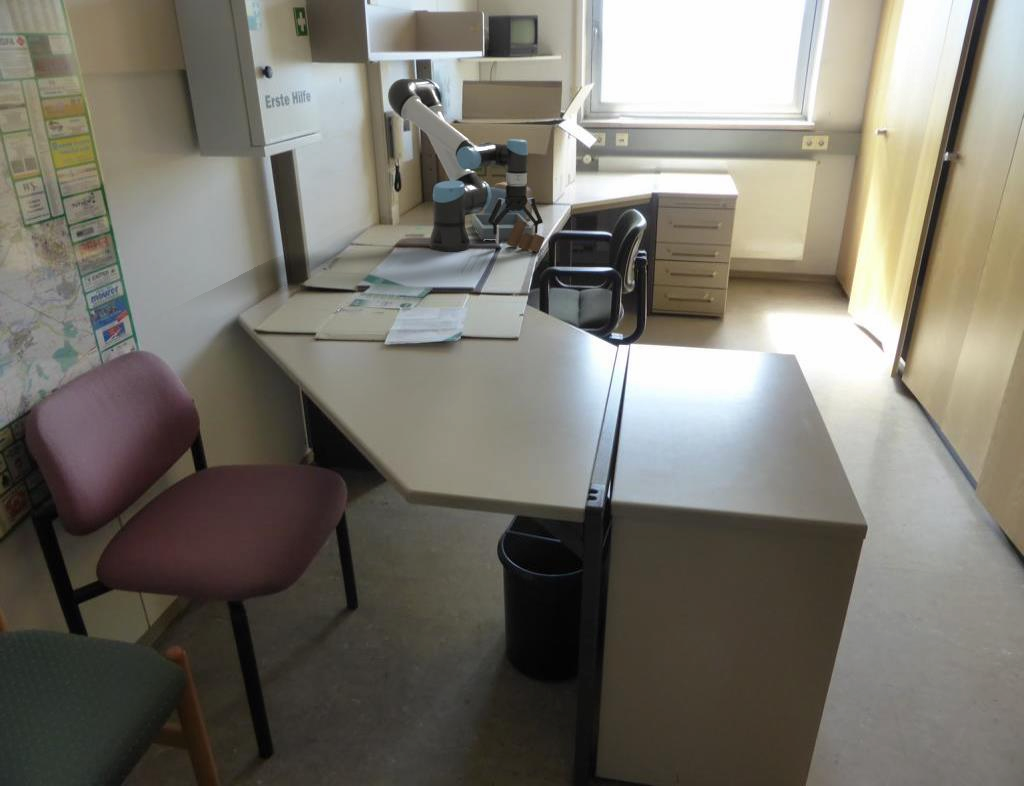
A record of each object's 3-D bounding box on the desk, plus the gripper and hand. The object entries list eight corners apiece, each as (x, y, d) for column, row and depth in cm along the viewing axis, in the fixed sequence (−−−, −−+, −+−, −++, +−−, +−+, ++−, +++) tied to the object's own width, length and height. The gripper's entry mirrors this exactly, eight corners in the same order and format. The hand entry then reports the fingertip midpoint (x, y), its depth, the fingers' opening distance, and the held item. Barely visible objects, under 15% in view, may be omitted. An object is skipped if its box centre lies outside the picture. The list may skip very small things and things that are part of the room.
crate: (482, 241, 284) (482, 228, 282) (472, 225, 309) (472, 214, 307) (532, 240, 288) (533, 227, 286) (518, 225, 313) (518, 213, 310)
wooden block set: (540, 258, 271) (551, 232, 269) (523, 252, 266) (534, 225, 263) (514, 246, 285) (524, 221, 282) (497, 239, 279) (507, 214, 277)
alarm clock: (533, 220, 323) (535, 183, 317) (506, 224, 313) (507, 186, 307) (509, 214, 334) (510, 178, 328) (481, 218, 324) (482, 181, 317)
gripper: (484, 186, 259) (483, 245, 268) (552, 185, 263) (549, 244, 272) (480, 183, 265) (480, 241, 274) (547, 182, 270) (544, 239, 279)
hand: (514, 242), depth 273 cm, fingers open, 13 cm apart
